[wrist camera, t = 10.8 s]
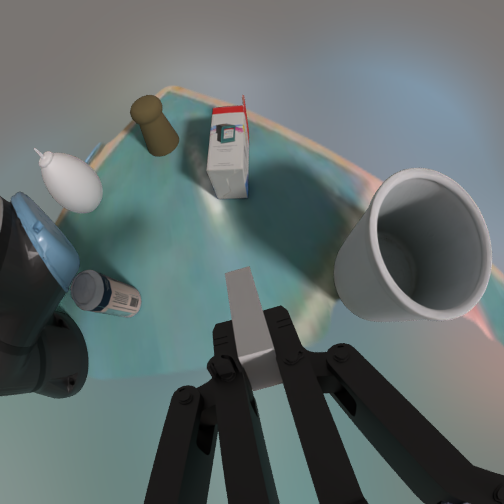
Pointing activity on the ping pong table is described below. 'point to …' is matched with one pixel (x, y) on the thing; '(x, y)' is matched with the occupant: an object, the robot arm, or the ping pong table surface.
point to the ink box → (229, 152)
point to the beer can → (104, 294)
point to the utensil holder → (415, 252)
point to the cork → (154, 125)
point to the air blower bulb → (71, 181)
